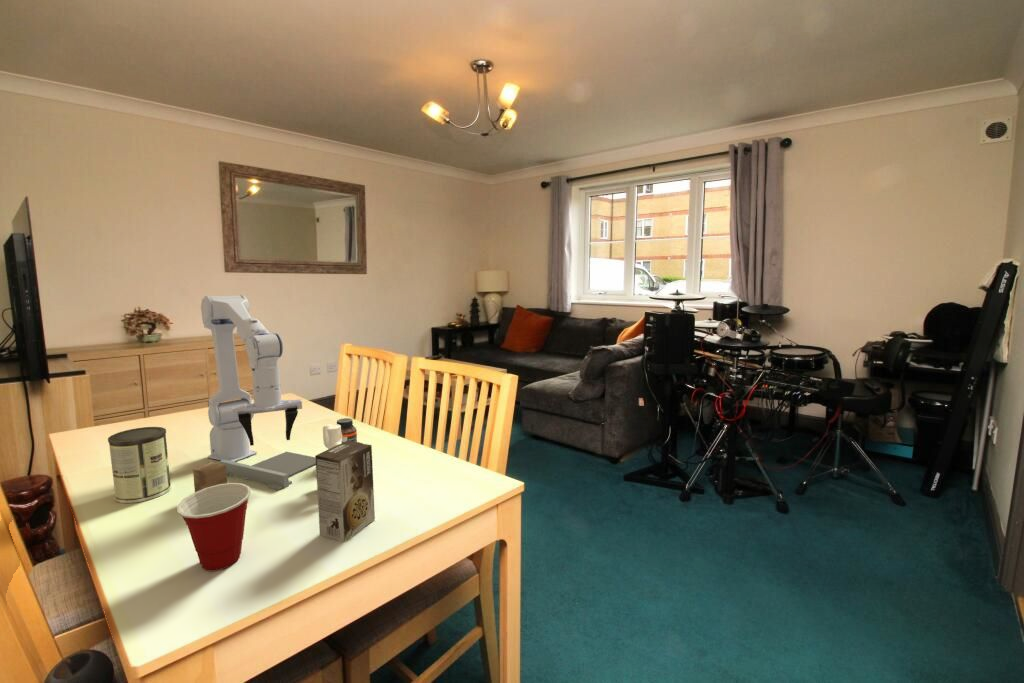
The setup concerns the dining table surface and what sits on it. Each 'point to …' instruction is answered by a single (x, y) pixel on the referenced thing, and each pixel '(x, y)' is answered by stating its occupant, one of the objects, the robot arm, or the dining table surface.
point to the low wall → (257, 474)
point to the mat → (288, 463)
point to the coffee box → (345, 489)
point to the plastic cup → (216, 523)
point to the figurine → (332, 436)
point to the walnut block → (209, 476)
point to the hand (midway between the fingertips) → (270, 441)
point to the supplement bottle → (347, 430)
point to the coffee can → (139, 464)
